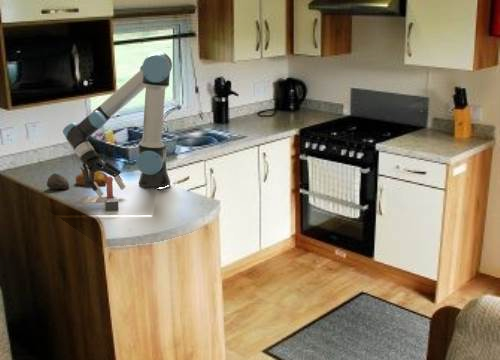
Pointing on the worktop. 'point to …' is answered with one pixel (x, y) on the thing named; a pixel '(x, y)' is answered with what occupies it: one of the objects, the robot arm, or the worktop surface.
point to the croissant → (98, 178)
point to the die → (111, 204)
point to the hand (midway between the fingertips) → (112, 192)
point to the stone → (57, 182)
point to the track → (91, 200)
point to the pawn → (109, 187)
